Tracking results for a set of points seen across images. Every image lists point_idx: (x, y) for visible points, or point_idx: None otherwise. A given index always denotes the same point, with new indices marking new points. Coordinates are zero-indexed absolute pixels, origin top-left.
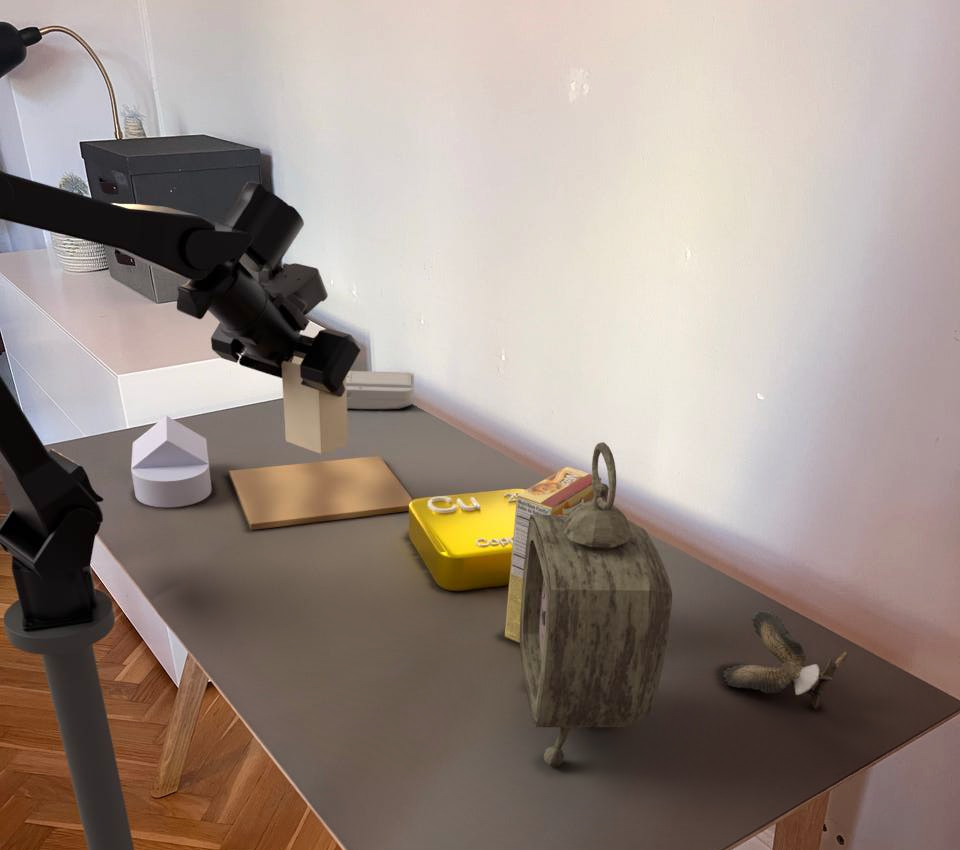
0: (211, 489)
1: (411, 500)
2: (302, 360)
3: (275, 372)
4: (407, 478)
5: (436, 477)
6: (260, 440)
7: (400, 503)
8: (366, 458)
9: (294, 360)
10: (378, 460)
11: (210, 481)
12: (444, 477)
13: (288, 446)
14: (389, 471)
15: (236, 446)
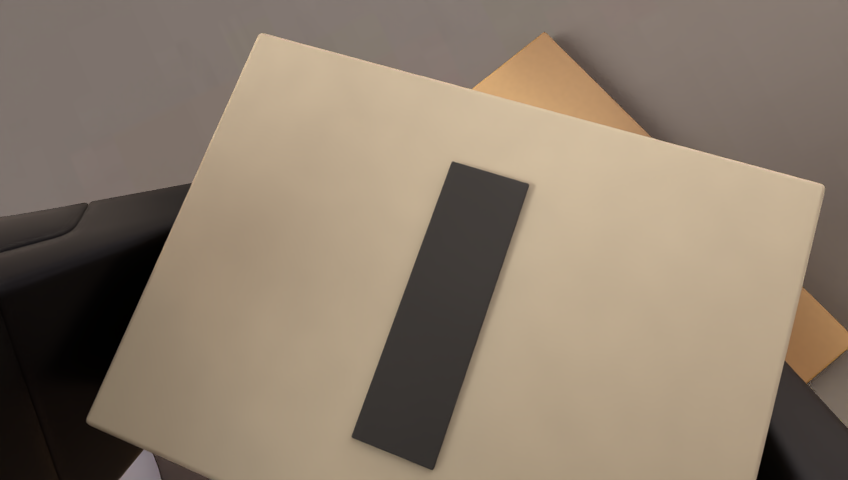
0: (153, 457)
1: (825, 317)
2: (325, 362)
3: (121, 452)
4: (687, 119)
5: (772, 72)
6: (144, 61)
7: (802, 357)
8: (516, 69)
9: (242, 410)
10: (559, 66)
11: (137, 464)
12: (797, 61)
13: (237, 63)
14: (634, 129)
15: (97, 129)
